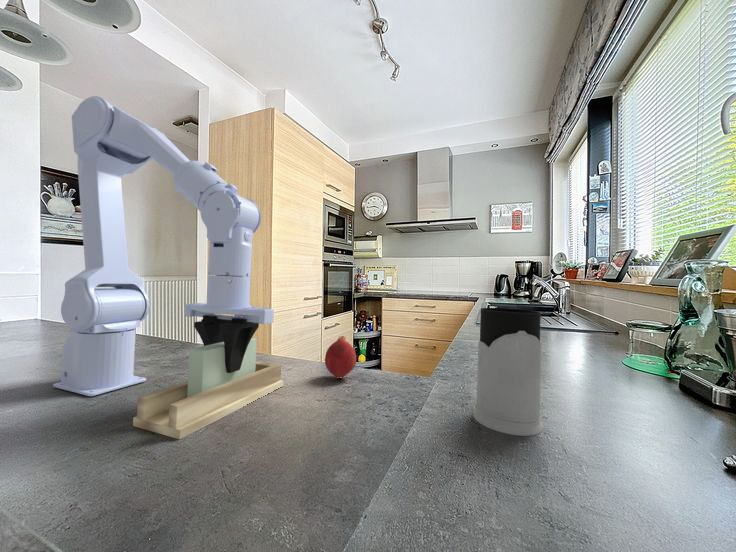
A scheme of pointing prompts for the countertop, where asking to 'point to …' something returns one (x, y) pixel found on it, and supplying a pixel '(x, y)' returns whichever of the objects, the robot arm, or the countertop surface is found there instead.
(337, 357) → the onion
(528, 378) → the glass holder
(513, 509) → the countertop surface
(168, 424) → the floor track
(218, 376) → the door panel
